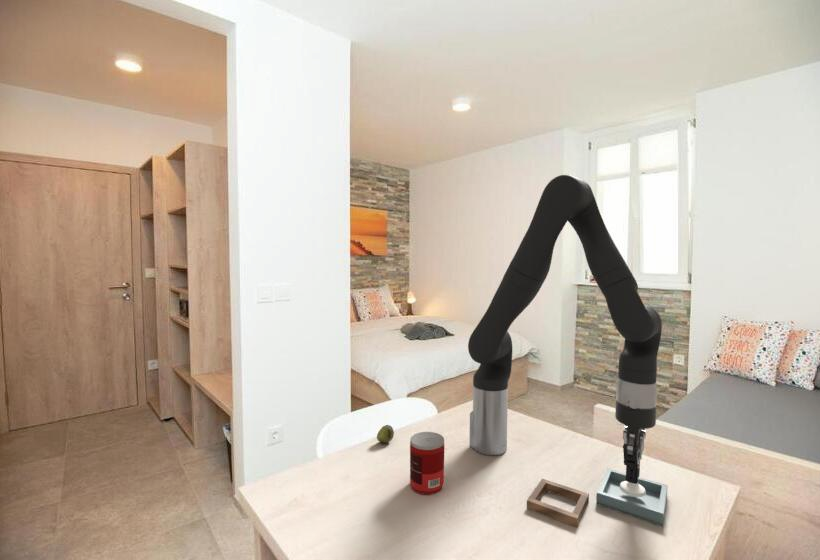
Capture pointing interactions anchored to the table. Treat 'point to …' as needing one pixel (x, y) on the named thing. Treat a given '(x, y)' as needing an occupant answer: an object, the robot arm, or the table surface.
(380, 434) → the lime
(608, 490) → the tray
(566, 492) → the collar
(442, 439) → the canned food
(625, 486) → the chess piece
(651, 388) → the robot arm
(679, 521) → the table surface
